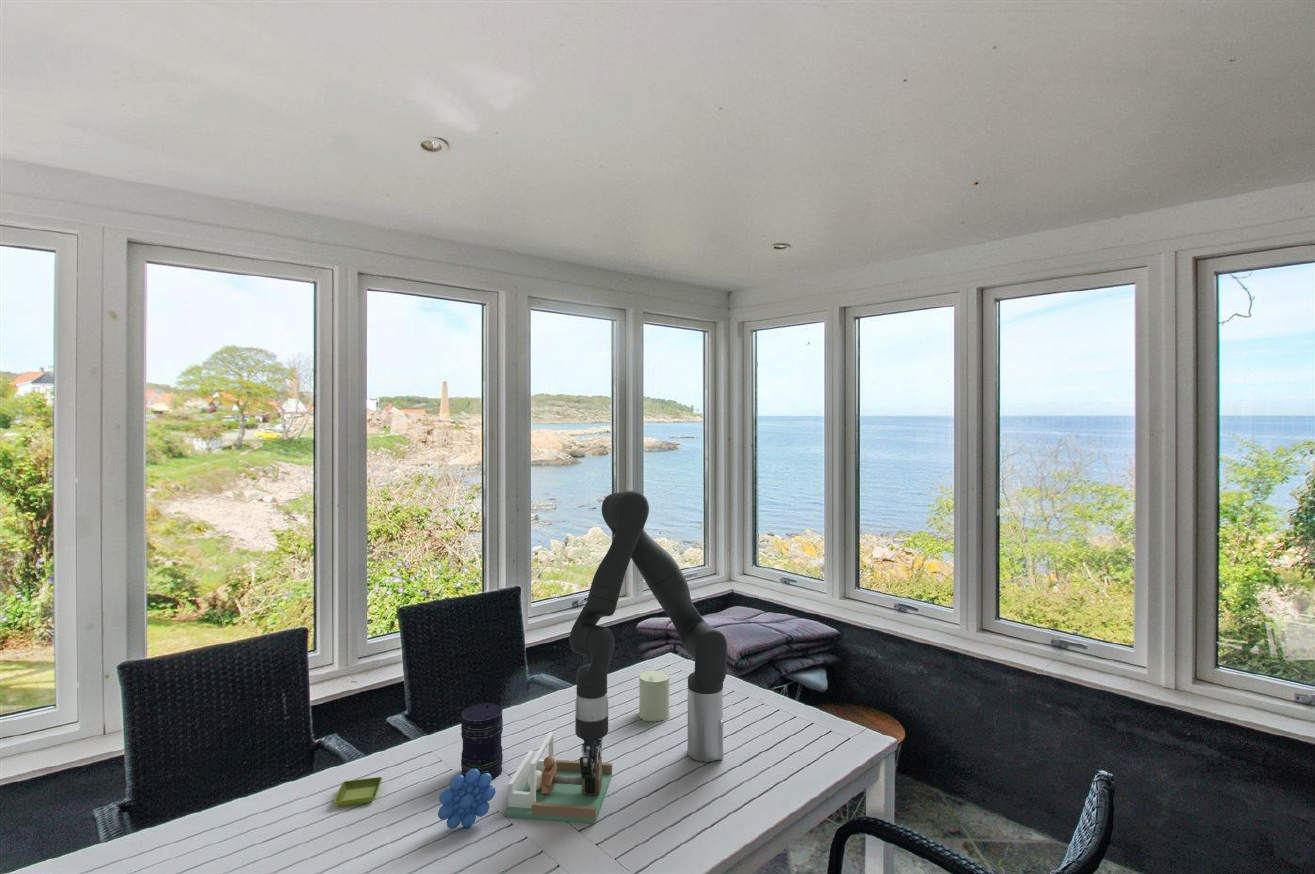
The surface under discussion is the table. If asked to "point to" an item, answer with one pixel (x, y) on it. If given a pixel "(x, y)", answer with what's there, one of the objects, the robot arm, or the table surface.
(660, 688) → the can
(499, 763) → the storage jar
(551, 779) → the kicker
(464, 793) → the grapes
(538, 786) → the ball
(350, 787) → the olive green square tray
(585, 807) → the pitch
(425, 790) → the table surface
